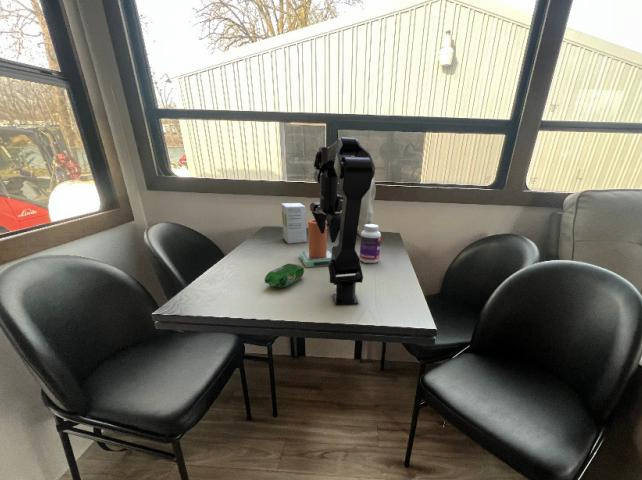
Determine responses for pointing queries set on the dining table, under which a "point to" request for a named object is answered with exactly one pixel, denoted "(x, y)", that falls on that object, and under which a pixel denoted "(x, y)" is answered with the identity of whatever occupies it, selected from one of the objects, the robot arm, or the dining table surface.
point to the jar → (317, 240)
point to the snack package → (284, 275)
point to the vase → (367, 208)
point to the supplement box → (294, 222)
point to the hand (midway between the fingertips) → (327, 237)
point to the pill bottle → (370, 244)
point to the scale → (315, 259)
